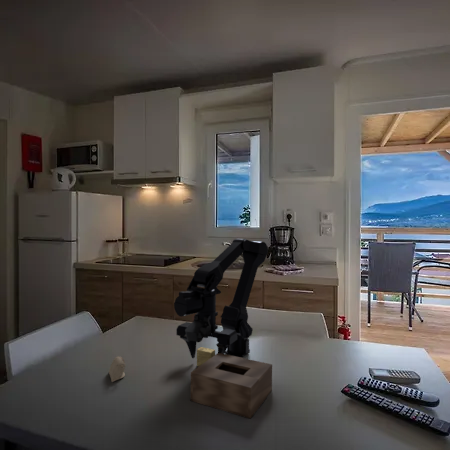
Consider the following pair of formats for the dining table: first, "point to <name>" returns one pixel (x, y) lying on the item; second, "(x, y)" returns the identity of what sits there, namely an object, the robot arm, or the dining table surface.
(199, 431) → the dining table surface
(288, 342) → the dining table surface
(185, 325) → the robot arm
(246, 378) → the walnut box
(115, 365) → the decorative ornament
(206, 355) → the yellow square block
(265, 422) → the dining table surface
